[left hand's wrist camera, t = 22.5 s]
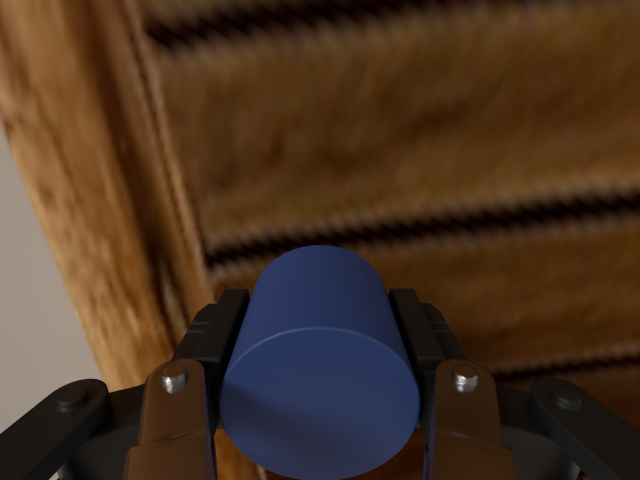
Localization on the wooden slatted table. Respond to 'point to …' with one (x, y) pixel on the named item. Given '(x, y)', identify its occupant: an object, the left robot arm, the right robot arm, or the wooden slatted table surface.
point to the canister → (319, 370)
